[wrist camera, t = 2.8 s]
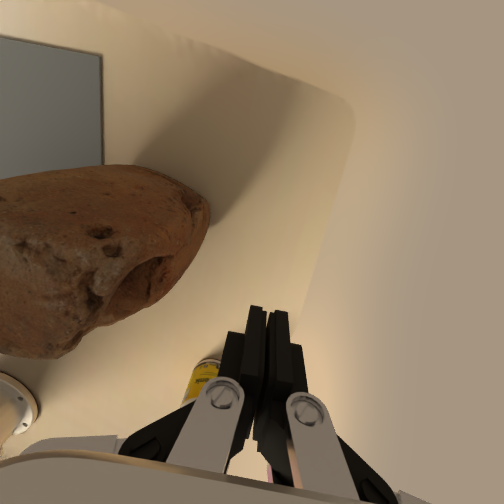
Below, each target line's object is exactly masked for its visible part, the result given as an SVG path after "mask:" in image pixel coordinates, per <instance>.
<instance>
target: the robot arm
mask: <svg viewBox="0 0 504 504" xmlns="http://www.w3.org/2000/svg"><path fill="white" fill-rule="evenodd" d="M262 309H263V307H259V306H254V305H251V306H250V310H249V315H248V320H247V325H246V330H245V334H242V333H236V332H231V331H228V334H227V338H226V342H225V346H224V350H223V355H222V359H221V363H220V367H219V371H218V375H217V377H215V378H213V379H210V380H209V381H207V382H206V383H205V385H204V386H203V387H202V389H201V391H200V393H199V396H198V398H197V399H196V400H195V401H193V402H191V403H189V404H187V405H185V406H183V407H181V408H180V409H178V410H176V411H174V412H172V413H170V414H168V415H166V416H165V417H163V418H161V419H159V420H157V421H155V422H153V423H152V424H150V425H148V426H146V427H144V428H142V429H140V430H138V431H137V432H135V433H134V434H132V435H131V436H129V437H128V438H124V439H118V435H108V436H86V437H65V438H49V439H45V440H41V441H39V442H37V443H34V444H32V445H31V446H29V447H28V448H27V449H26V450H24V451H23V452H22V453H21V454H20V455H19V456H16V457H12V458H9V459H5V460H2V461H0V504H430V503H428V502H426V501H423V500H421V499H419V498H416V497H414V496H412V495H410V494H407V493H405V492H403V491H401V490H399V491H398V493H395V492H393V491H392V489H391V488H390V487H389V485H388V484H387V483H386V482H385V481H384V480H383V479H382V478H381V477H380V476H379V475H378V474H377V473H376V472H375V471H374V470H373V469H372V468H371V467H370V466H369V465H368V464H367V463H366V462H365V461H364V460H363V459H362V458H361V457H360V456H359V455H358V454H357V453H356V452H355V451H353V450H352V449H351V448H350V447H349V446H348V445H347V444H346V443H345V442H344V441H343V440H342V439H341V438H340V437H339V436H338V435H337V434H336V432H335V429H334V427H333V424H332V421H331V418H330V416H329V413H328V410H327V408H326V406H325V405H324V404H323V403H322V402H321V400H319V399H318V398H317V397H315V396H314V395H311V394H309V393H308V387H307V379H306V372H305V365H304V358H303V351H302V347H301V345H299V344H293V343H290V333H289V321H288V312H285V311H280V310H275V312H274V313H273V312H270V314H269V318H268V323H267V327H266V316H267V311H262ZM37 413H38V410H37V404H36V402H35V399H34V398H33V396H32V394H31V393H30V392H29V391H28V390H27V388H26V387H24V386H23V385H22V384H21V383H20V382H18V381H17V380H15V379H14V378H12V377H10V376H8V375H6V374H4V373H1V372H0V457H1V456H2V454H3V448H2V445H3V444H4V442H5V441H6V440H7V439H8V438H9V437H10V436H11V435H15V434H20V433H22V432H24V431H26V430H27V429H28V428H30V426H31V425H32V424H33V423H34V422H35V420H36V418H37ZM253 419H254V426H253V440H255V441H258V446H257V452H261V454H262V455H263V456H264V458H265V459H266V460H267V461H268V465H267V474H268V482H263V481H257V480H253V479H248V478H243V477H238V476H232V475H227V471H228V468H229V464H230V460H231V458H232V457H234V456H235V455H236V454H237V453H239V452H240V451H241V450H242V449H243V446H244V442H245V439H248V438H249V435H250V431H251V427H252V423H253Z"/></svg>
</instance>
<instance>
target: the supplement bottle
mask: <svg viewBox="0 0 504 504" xmlns="http://www.w3.org/2000/svg"><path fill="white" fill-rule="evenodd" d="M220 363H221V361H218V360H214V359H207V360H203V361H201V362H199V363H198V364H197V365H196V367H195V368H194V370H193V373H192V376H191V378H190V381H189V384H188V387H187V390H186V392H185V395H184V398H183V401H182V404H181V407H183V406H185V405H187V404H189V403H191V402H193V401H195V400H196V399H197V398H198V396H199V393H200V391H201V389H202V387H203V386H204V385H205V383H206V382H207V381H209V380H210V379H213V378H215V377H217V375H218V371H219V367H220ZM181 407H180V408H181Z"/></svg>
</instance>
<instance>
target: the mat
mask: <svg viewBox="0 0 504 504" xmlns="http://www.w3.org/2000/svg"><path fill="white" fill-rule="evenodd" d="M98 165H103V149H102V92H101V57H99V56H95V55H90V54H84V53H79V52H74V51H69V50H63V49H58V48H53V47H48V46H42V45H37V44H32V43H27V42H21V41H16V40H11V39H6V38H0V179H5V178H10V177H15V176H21V175H27V174H32V173H39V172H44V171H50V170H62V169H71V168H79V167H87V166H98Z"/></svg>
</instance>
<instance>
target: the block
mask: <svg viewBox="0 0 504 504" xmlns="http://www.w3.org/2000/svg"><path fill="white" fill-rule="evenodd" d="M209 219H210V204H209V203H208V202H207V201H206V200H205V199H204V198H203V197H201V196H200V195H198V194H197V193H196V192H194V191H193V190H191V189H190V188H188V187H187V186H185V185H183V184H182V183H180V182H178V181H176V180H174V179H172V178H170V177H168V176H166V175H163V174H161V173H158V172H156V171H153V170H150V169H147V168H143V167H139V166H135V165H98V166H87V167H79V168H71V169H62V170H50V171H44V172H39V173H32V174H27V175H21V176H15V177H10V178H5V179H0V353H3V354H7V355H12V356H16V357H23V358H31V359H45V360H49V359H58V358H59V357H61V356H63V355H65V354H66V353H68V352H70V351H72V350H73V349H75V347H76V346H77V345H78V343H79V342H80V341H81V339H82V337H83V336H84V335H86V334H87V333H89V332H90V331H92V330H94V329H95V328H97V327H101V326H109V325H112V324H114V323H116V322H118V321H119V320H123V319H125V318H126V317H128V316H130V315H132V314H135V313H136V312H138V311H140V310H142V309H143V308H147V307H150V306H151V305H153V304H155V303H156V302H158V301H159V300H160V299H161V298H163V297H164V296H165V295H166V294H167V293H168V292H169V291H170V290H171V289H172V287H173V286H174V285H175V284H176V283H177V281H178V280H179V279H180V278H181V277H182V275H183V273H184V272H185V271H186V269H187V268H188V267H189V265H190V264H191V262H192V261H193V259H194V258H195V256H196V254H197V252H198V251H199V249H200V247H201V244H202V242H203V240H204V238H205V235H206V232H207V229H208V225H209Z"/></svg>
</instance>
